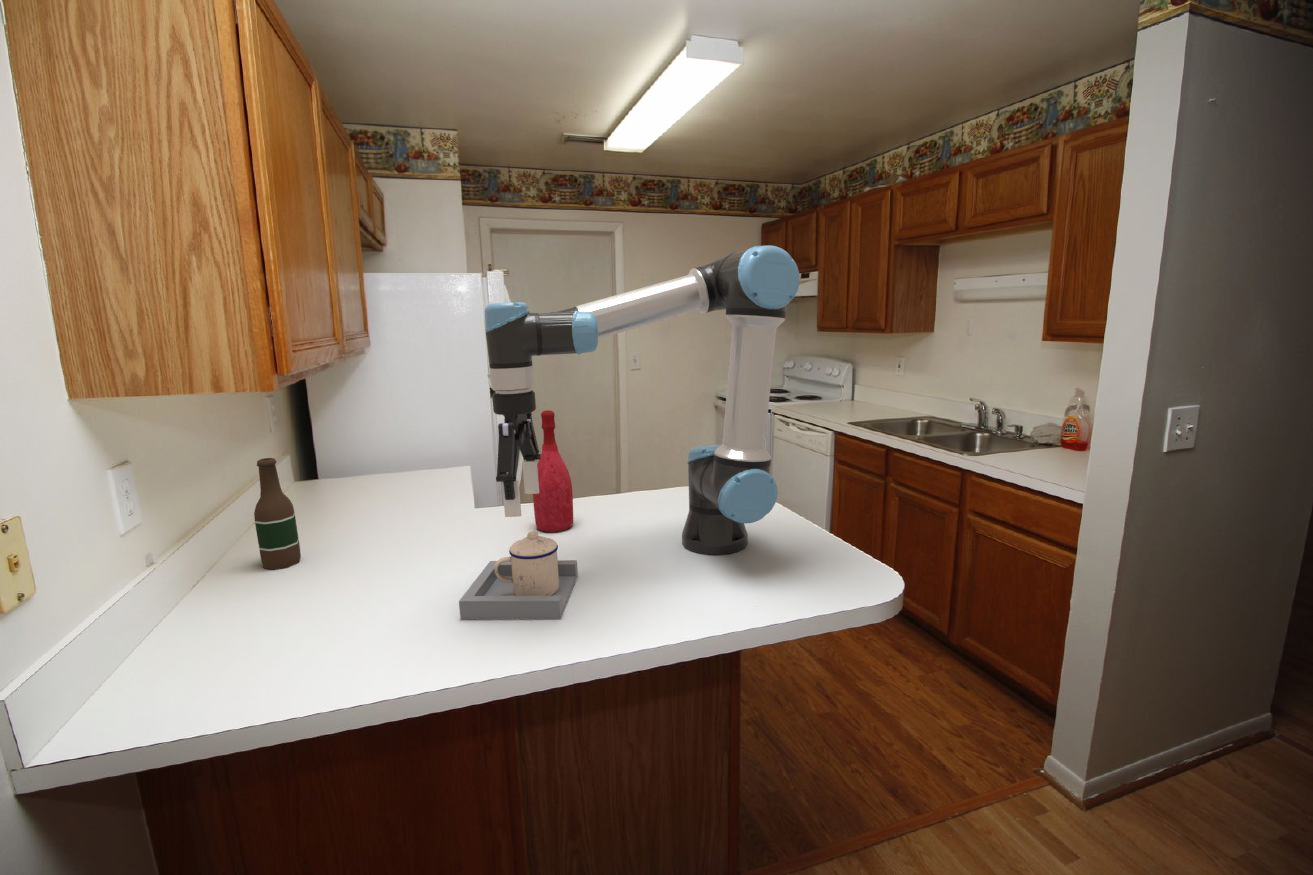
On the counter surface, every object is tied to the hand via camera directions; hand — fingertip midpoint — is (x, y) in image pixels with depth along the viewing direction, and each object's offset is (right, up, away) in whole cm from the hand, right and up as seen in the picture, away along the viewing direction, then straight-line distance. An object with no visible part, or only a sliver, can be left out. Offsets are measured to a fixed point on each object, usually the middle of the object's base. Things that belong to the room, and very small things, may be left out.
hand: (523, 504), depth 114 cm
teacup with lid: (0, -17, +3) cm, 18 cm away
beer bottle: (-59, -16, +23) cm, 65 cm away
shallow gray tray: (-1, -18, +4) cm, 18 cm away
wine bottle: (-1, -11, +42) cm, 43 cm away
